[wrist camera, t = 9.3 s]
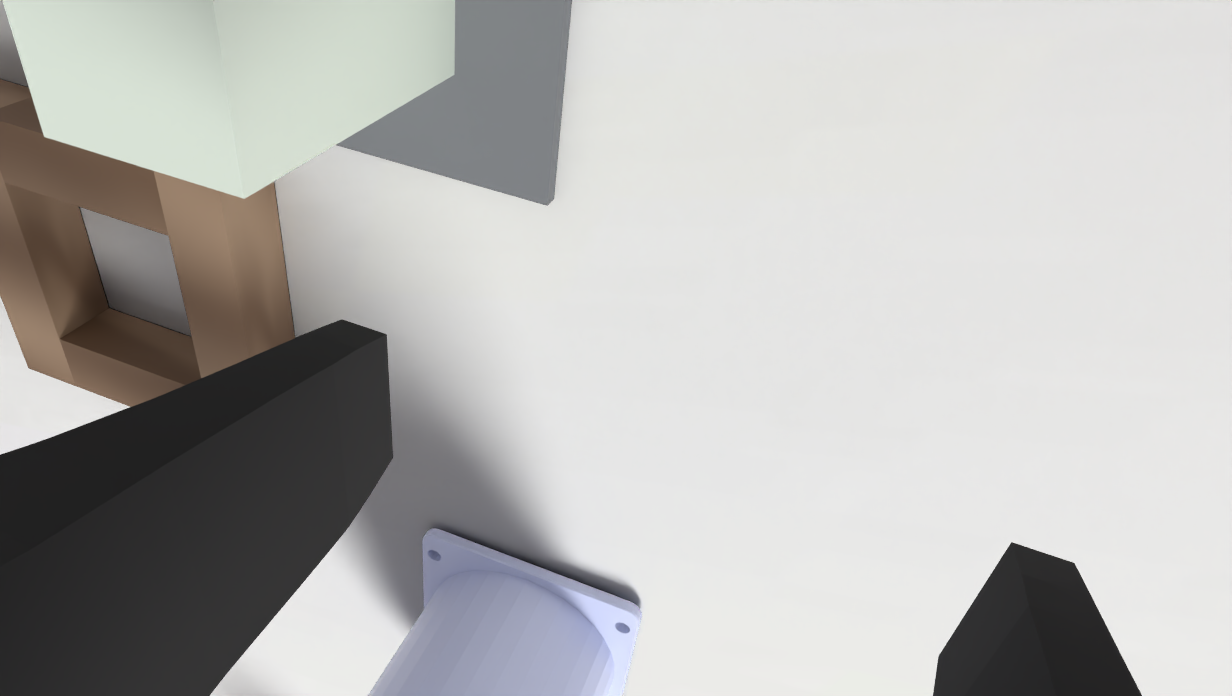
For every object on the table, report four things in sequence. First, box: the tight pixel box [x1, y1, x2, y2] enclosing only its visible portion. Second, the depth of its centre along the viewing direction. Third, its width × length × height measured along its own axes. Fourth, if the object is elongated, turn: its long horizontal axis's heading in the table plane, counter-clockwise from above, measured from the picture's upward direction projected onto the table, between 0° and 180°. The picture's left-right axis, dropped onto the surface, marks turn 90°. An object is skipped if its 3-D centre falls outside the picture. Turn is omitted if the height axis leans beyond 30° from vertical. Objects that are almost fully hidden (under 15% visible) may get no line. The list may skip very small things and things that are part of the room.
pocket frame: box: [0, 79, 295, 407], centre depth 25 cm, size 10×10×2 cm
